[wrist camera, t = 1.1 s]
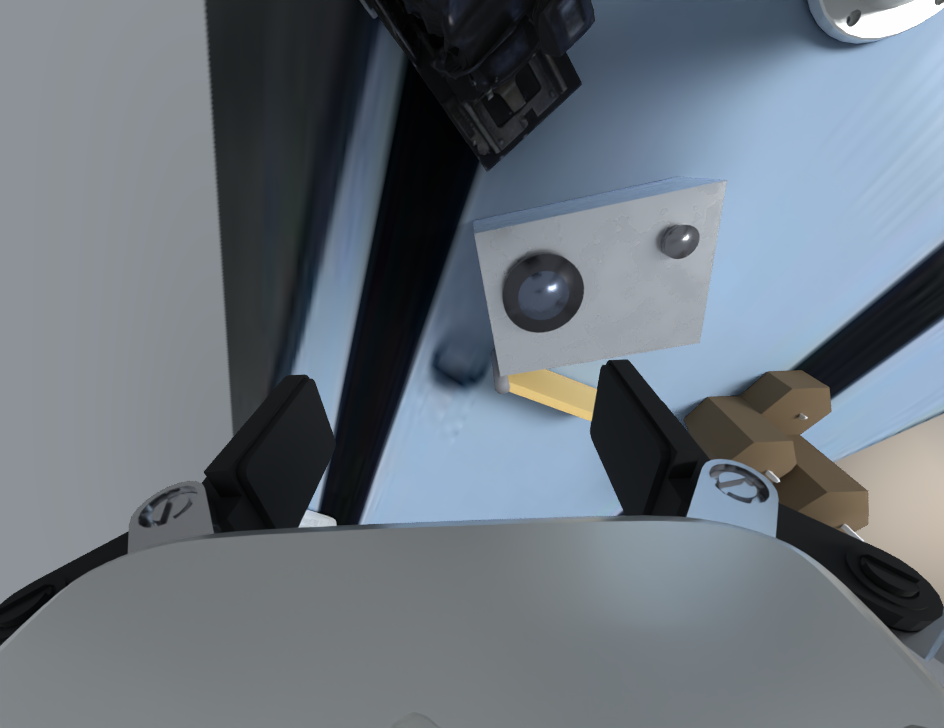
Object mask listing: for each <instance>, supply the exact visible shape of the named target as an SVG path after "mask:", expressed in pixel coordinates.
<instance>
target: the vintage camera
mask: <svg viewBox="0 0 944 728" xmlns="http://www.w3.org/2000/svg"><path fill="white" fill-rule="evenodd" d="M360 2H361V3H362V4H363V6H364V7H365V9H366V10H367V12H368V13H369V14H370V15H371V16H372V18H373V19H374V18H376V17H377V16H379V18H380V19H381V21H382V22H383V23H384V25H385V26H386V28H387V29H388V30H389V32H390V33H391V35H392V36H393V37H394V39H395V40H396V42H397V43H398V44H399V46H400V47H401V48H402V49H403V51H404V52H405V54H406V55H407V57H408V58H409V59H410V61H411V62H412V64H413V65H414V66H415V68H416V70H417V71H418V73H419V74H420V76H421V77H422V78H423V80H424V81H425V83H426V84H427V86H428V87H429V88H430V90H431V91H432V93H433V94H434V96H435V97H436V99H437V100H438V101H439V103H440V104H441V106H442V107H443V109H444V110H445V112H446V113H447V115H448V116H449V118H450V119H451V121H452V122H453V124H454V125H455V126H456V128H457V129H458V131H459V132H460V133H461V135H462V136H463V138H464V139H465V141H466V142H467V143H468V145H469V146H470V148H471V149H472V151H473V152H474V153H475V155H476V156H477V158H478V159H479V161H480V162H481V164H482V165H483V167H484V168H485V170H486V171H489V170H490V169H491V168H492V167H493V166H495V165H496V164H497V163H498V162H499V161H500V160H501V159H502V158H503V157H504V156H505V155H507V154H508V153H509V152H510V151H511V150H512V149H513V148H514V147H515V146H516V145H517V144H518V143H519V142H520V141H522V140H523V139H524V138H525V137H526V136H527V135H528V134H529V133H530V132H531V131H532V130H533V129H534V128H535V127H537V126H538V125H539V124H540V123H541V122H542V121H543V120H544V119H545V118H546V117H547V116H548V115H549V114H551V113H552V112H553V111H554V110H555V109H556V108H557V107H558V106H559V105H560V104H561V103H563V102H564V101H565V100H566V99H567V98H568V97H569V96H570V95H571V94H572V93H573V92H574V91H575V90H576V89H578V88H579V87H580V86H581V85H582V83H581V81H580V79H579V77H578V75H577V73H576V71H575V69H574V67H573V65H572V63H571V61H570V59H569V57H568V55H567V53H566V51H567V50H568V49H569V48H570V47H571V46H572V45H573V44H574V43H575V42H576V41H578V40H579V39H580V38H581V37H582V36H583V35H584V33H585V32H586V31H587V30H588V29H589V28H590V27H591V25H592V24H593V23H594V21H595V17H594V9H593V6H592V3H591V0H360Z"/></svg>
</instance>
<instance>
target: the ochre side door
mask: <svg viewBox="0 0 944 728" xmlns="http://www.w3.org/2000/svg"><path fill="white" fill-rule="evenodd" d="M491 357H492V366H493V374H494V383H495V390H496V391H497V392H498V393H500V394H505V393H507V392H508V391H509V392H512V393H514V394H517V395H520V396H523V397H525V398H528V399H531V400H534V401H536V402H539V403H542V404H545V405H547V406H550V407H553V408H556V409H558V410H561V411H564V412H567V413H569V414H572V415H575V416H578V417H580V418H583V419H586V420H589V421H592V416H593V410H594V404H595V398H596V392H597V389H595V388H593V387H590V386H587V385H585V384H582V383H580V382H577V381H575V380H572V379H569V378H567V377H564V376H562V375H559V374H557V373H554V372H551V371H549V370H546V369H542V370H537V371H531V372H525V373H519V374H513V375H507V376H501V377H500V371H499V366H498V360H497V355H496V350H495V349H494V350H493V351H492V352H491Z"/></svg>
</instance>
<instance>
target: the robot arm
mask: <svg viewBox="0 0 944 728" xmlns="http://www.w3.org/2000/svg"><path fill="white" fill-rule="evenodd" d="M808 4H809V8H810V11H811V13H812V15H813V17H814V19H815V20H816V22H817V24H818V26H819V27H821V28H822V29H823V30H824V31H825V32H826V33H827V34H828V35H829V36H831V37H833V38H835V39H837V40H839V41H842V42H848V43H856V44H859V43H867V42H875V41H878V40H881V39H884V38H888V37H891V36H895V35H897V34H900V33H902V32H904V31H907V30H909V29H911V28H913V27H916V26H917V25H919V24H920V23H922V22H924V21H925V20H927V19H928V18H930V17H932V16H933V15H935V14H937V13H938V12H939V11H940V10H941V9H943V8H944V0H808ZM590 434H591V439H592V441H593V443H594V446H595V448H596V450H597V452H598V455H599V457H600V459H601V461H602V464H603V466H604V468H605V470H606V473H607V475H608V477H609V479H610V482H611V484H612V486H613V488H614V491H615V493H616V495H617V497H618V499H619V502H620V504H621V506H622V508H623V511H624V513H625V515H626V516H584V517H554V518H524V519H494V520H468V521H441V522H416V523H391V524H368V525H345V526H323V527H301V528H298V527H299V525H300V523H301V521H302V519H303V517H304V514H305V512H306V510H307V508H308V506H309V504H310V501H311V499H312V497H313V495H314V493H315V491H316V489H317V486H318V484H319V482H320V480H321V478H322V476H323V474H324V471H325V469H326V467H327V465H328V463H329V461H330V459H331V456H332V454H333V452H334V450H335V438H334V435H333V432H332V429H331V427H330V424H329V421H328V418H327V415H326V412H325V409H324V406H323V404H322V401H321V398H320V395H319V392H318V389H317V386H316V383H315V381H314V380H313V379H309V377H308V376H307V375H288V376H286V377H284V379H283V380H282V381H281V382H280V383H279V384H278V386H277V387H276V388H275V389H274V390H273V391H272V393H271V394H270V395H269V396H268V397H267V398H266V400H265V401H264V402H263V403H262V404H261V405H260V407H259V408H258V409H257V410H256V411H255V412H254V414H253V415H252V416H251V417H250V418H249V419H248V421H247V422H246V423H245V424H244V425H243V426H242V428H241V429H240V430H239V431H238V432H237V433H236V435H235V436H234V437H233V438H232V439H231V441H230V442H229V443H228V444H227V445H226V447H225V448H224V449H223V450H222V451H221V452H220V453H219V455H218V456H217V457H216V458H215V459H214V460H213V462H212V463H211V464H210V465H209V466H208V467H207V469H206V470H205V471H204V473H205V475H206V476H207V477H206V478H205V480H204V481H203V482H202V483H199V482H197V481H186V482H181V483H177V484H174V485H172V486H169V487H167V488H165V489H163V490H161V491H160V492H157V493H156V494H154V495H153V496H151V497H150V498H149V499H147V500H146V501H145V502H144V503H143V504H142V505H141V506H140V507H138V509H137V510H136V511H135V512H134V514H133V515H132V517H131V520H130V523H129V531H128V532H126V533H125V534H123V535H121V536H119V537H117V538H115V539H113V540H111V541H109V542H108V543H106V544H104V545H102V546H100V547H98V548H96V549H94V550H93V551H91V552H89V553H87V554H85V555H83V556H81V557H79V558H77V559H76V560H74V561H72V562H70V563H68V564H66V565H64V566H63V567H60V568H59V569H57V570H55V571H53V572H51V573H49V574H47V575H45V576H43V577H42V578H40V579H38V580H36V581H34V582H33V583H31V584H29V585H27V586H26V587H24V588H22V589H21V590H19V591H17V592H16V593H14V594H13V595H11V596H10V597H9V598H7V599H6V600H5V601H4V602H3V603H2V604H0V728H944V606H943V604H942V601H941V599H940V596H939V595H938V593H937V592H936V591H935V590H934V588H933V587H932V586H931V584H930V583H929V582H928V581H927V580H926V579H924V578H923V577H922V576H921V575H920V574H919V573H918V572H917V571H915V570H914V569H913V568H911V567H910V566H908V565H907V564H906V563H904V562H903V561H901V560H900V559H898V558H896V557H894V556H892V555H891V554H889V553H887V552H884V551H883V550H881V549H879V548H876V547H874V546H872V545H870V544H868V543H865V542H863V541H861V540H859V539H857V538H855V537H852V536H850V535H848V534H846V533H844V532H841V531H839V530H837V529H835V528H833V527H831V526H828V525H826V524H824V523H822V522H820V521H817V520H815V519H813V518H811V517H809V516H807V515H804V514H802V513H800V512H798V511H796V510H793V509H791V508H789V507H787V506H785V505H782V504H780V503H778V500H779V498H778V493H777V490H776V489H775V487H774V486H773V484H772V483H771V482H770V481H769V480H768V479H767V478H766V477H765V476H764V475H762V474H761V473H759V472H758V471H756V470H755V469H753V468H751V467H749V466H747V465H744V464H742V463H739V462H736V461H732V460H726V459H715V460H710V459H709V457H708V456H707V455H706V454H705V453H704V451H703V450H702V449H701V448H700V446H699V445H698V444H697V443H696V442H695V440H694V439H693V438H692V437H691V435H690V434H689V433H688V432H687V430H686V429H685V428H684V427H683V426H682V424H681V423H680V422H679V421H678V419H677V418H676V417H675V416H674V415H673V413H672V412H671V411H670V410H669V408H668V407H667V406H666V405H665V403H664V402H663V401H661V399H660V398H659V397H658V396H657V394H656V393H655V392H654V391H653V390H652V388H651V387H650V386H649V385H648V383H647V382H646V381H645V380H644V378H643V377H642V376H641V375H640V374H639V372H638V371H637V370H636V369H635V367H634V366H633V365H632V364H631V362H630V361H629V360H609V361H608V362H607V363H606V365H602V367H601V369H600V375H599V381H598V387H597V392H596V398H595V404H594V410H593V416H592V421H591V427H590Z"/></svg>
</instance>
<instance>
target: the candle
mask: <svg viewBox="0 0 944 728" xmlns="http://www.w3.org/2000/svg"><path fill="white" fill-rule="evenodd" d="M830 412H831V401H830V390H829V387H827V386H826V385H824V384H823V383H821V382H819V381H818V380H816V379H815V378H813V377H811V376H810V375H808V374H807V373H805V372H803V371H802V370H798V371H769V372H767V373H765V374H764V375H763V376H762V377H761V378H760V379H759V380H757V381H756V382H755V383H754V384H753V385H752V386H750V387H749V388H748V389H747V390H746V391H745V392H744V393H742V394H741V395H740V396H717V397H707V398H706V399H705V400H704V401H703V402H702V403H700V404H699V405H698V406H697V407H696V408H695V409H694V410H693V411H692V412H691V413H689V414H688V415H687V416H686V417H685V418H684V421H685V424H686V426H687V429H688V431H689V434H690V435H691V437H692V438H693V439H694V440H695V442H696V443H697V444H698V445H699V446H700V448H701V449H702V450H703V451H704V453H705V454H706V455H707V456H708V457H709V459H710V460H715V459H726V460H732V461H736V462H739V463H742V464H744V465H747V466H749V467H751V468H753V469H755V470H756V471H758V472H759V473H761V474H762V475H764V476H765V477H766V478H767V479H768V480H769V481H770V482H771V483H772V484H773V486H774V487H775V489H776V490H777V493H778V498H779V500H778V503H780V504H782V505H785V506H787V507H789V508H791V509H793V510H796V511H798V512H800V513H802V514H804V515H807V516H809V517H811V518H813V519H815V520H817V521H820V522H822V523H824V524H826V525H828V526H831V527H833V528H835V529H837V530H839V531H841V532H844V533H846V534H848V535H850V536H852V537H855V538H857V539H859V540H861V541H863V542H865V541H864V540H863V539H862V538H860V537H859V536H858V535H857V534H856V533H855V531H857V530H859V529H861V528H863V527H865V526H866V525H868V515H869V508H868V491H867V490H866V489H865V488H864V487H862V486H861V485H860V484H859V483H858V482H856V481H855V480H854V479H853V478H851V477H850V476H849V475H848V474H846V473H845V472H844V471H843V470H842V469H841V468H839V467H838V466H837V465H836V464H835V463H833V462H832V461H831V460H830V459H828V458H827V457H826V456H825V455H824V454H822V453H821V452H820V451H819V450H817V449H816V448H815V447H814V446H813V445H811V444H810V443H809V442H808V441H807V440H805V439H804V438H803V437H802V436H800V434H802V433H803V432H804V431H806V430H807V429H809V428H810V427H811V426H813V425H814V424H815V423H817V422H818V421H819V420H821V419H822V418H824V417H825V416H826V415H828V414H829V413H830Z"/></svg>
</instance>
